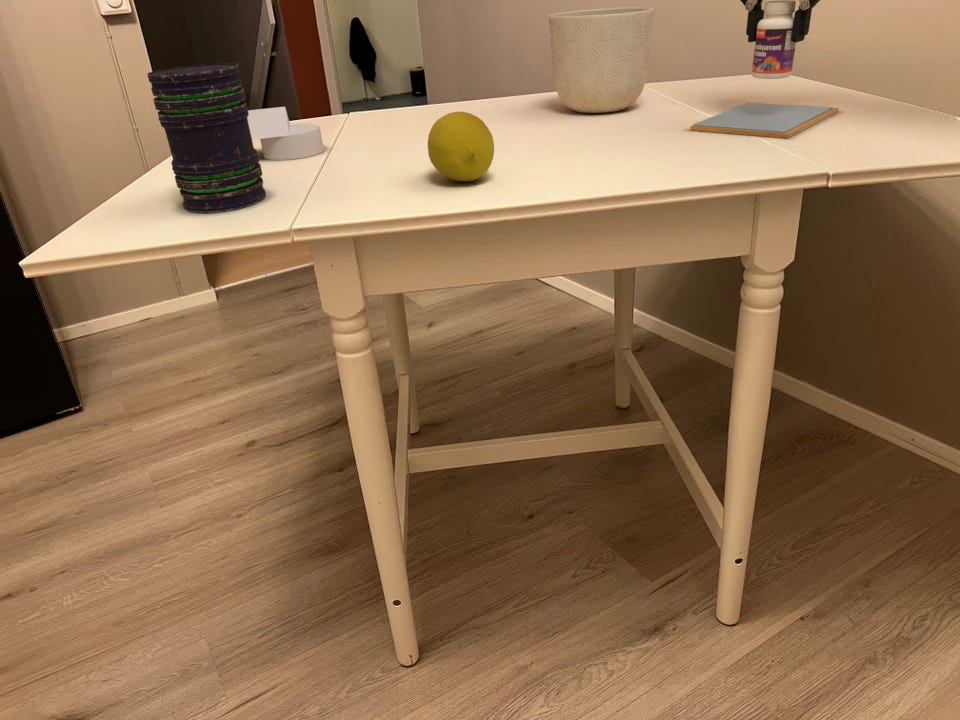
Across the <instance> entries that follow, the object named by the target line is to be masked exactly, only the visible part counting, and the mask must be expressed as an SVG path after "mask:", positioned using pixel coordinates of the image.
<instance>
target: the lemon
mask: <svg viewBox="0 0 960 720" xmlns="http://www.w3.org/2000/svg"><path fill="white" fill-rule="evenodd" d="M427 152H428V157H429V160H430V163H431V164H432V166H433V167H434V169H435V170H436V171H437V172H438V173H439V174H440V175H442V176H444V177H445V178H447V179H449V180H452V181H457V182H463V183H464V182H472V181H476V180H478V179H480V178H481V177H483V176H484V175H485V174H487V172H488V171H489V169H490V167H491V165H492V164H493V163H492V162H493V160H494V155H495V141H494V138H493V134H492V132H491V131H490V129H489V127H488V126H487V124H486V123H485V122H484V121H483V120H482V119H481V118H479V116H477V115H474V114H472V113H469V112H467V111H466V112H465V111H452V112H448V113H446V114H445V115H443V116H441V117H440V118H438V119H437V120H436V121H435V122H434V123H433V125H432V126H431V128H430V130H429V134H428V137H427Z"/></svg>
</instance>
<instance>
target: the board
mask: <svg viewBox="0 0 960 720" xmlns="http://www.w3.org/2000/svg"><path fill="white" fill-rule="evenodd" d="M838 112H839V107H833V106H818V105H803V104H802V105H801V104H784V103H783V104H781V103H764V102H746V103H745V102H744V103H742V104H740V105H738V106H735V107H733V108H730V109H728V110H724V111H723V112H720V113H717V114H715V115H713V116H710V117H708V118H705V119H703V120H700V121H697V122H695V123H693V125H691V126H690V131H695V132H707V133H708V132H709V133H720V134H732V135H742V136H743V135H744V136H755V137H767V138H779V139H790V138H791V137H793V136H795V135H797V134H799V133H801V132H802V131H805V130H806V129H808V128H810V127H813V126H814V125H816V124H817V123H819V122H821V121H824V120H825V119H827V118H829V117H831V116H832V115H834V114H837V113H838Z"/></svg>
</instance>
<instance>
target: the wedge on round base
mask: <svg viewBox="0 0 960 720" xmlns="http://www.w3.org/2000/svg"><path fill="white" fill-rule="evenodd" d="M248 113H249V115H248V117H247V119H248V124H249V128H250V133H251V138H252V141H253V140H254V141H255V140H259V141H260V145H261V149H262V154H263V158H264V159H266V160H270V161H271V160H272V161H287V160H298V159H303V158H308V157H312V156H315V155H318V154H321V153H322V152H324V150H325V149H324V142H323V136H322V132H321V126H320V125H319V124H315V123H314V124H313V123H298V124H296V123H295V124H291V122H290V120H289V116H288V111H287V109H286V106H279V107H277V106H276V107H269V108H268V107H267V108H260V109H259V108H258V109H250V110H249V109H248Z"/></svg>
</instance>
